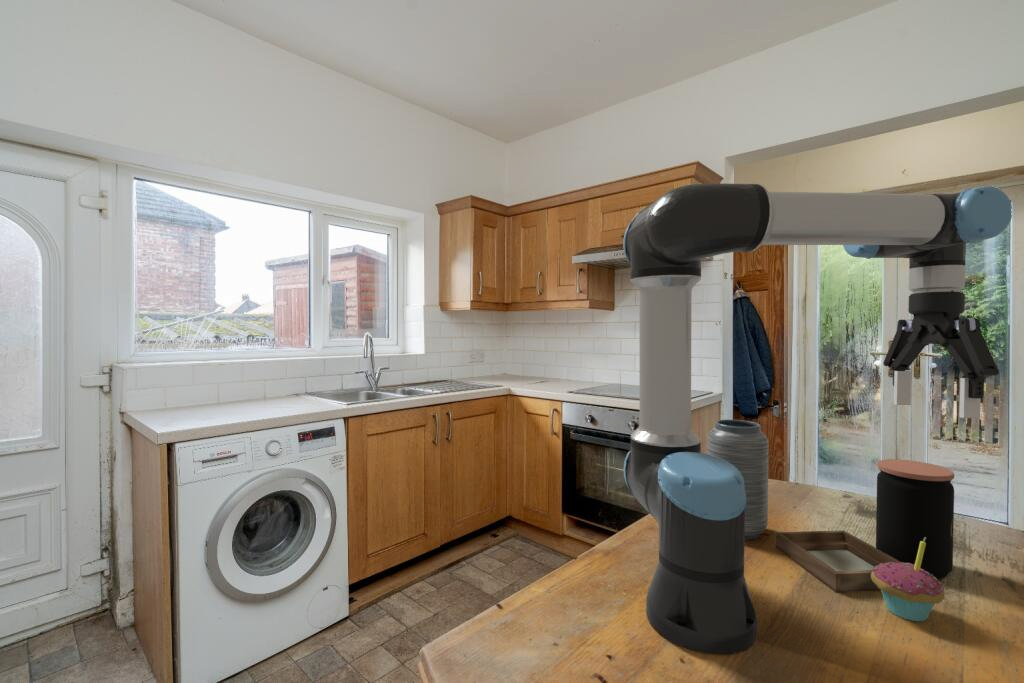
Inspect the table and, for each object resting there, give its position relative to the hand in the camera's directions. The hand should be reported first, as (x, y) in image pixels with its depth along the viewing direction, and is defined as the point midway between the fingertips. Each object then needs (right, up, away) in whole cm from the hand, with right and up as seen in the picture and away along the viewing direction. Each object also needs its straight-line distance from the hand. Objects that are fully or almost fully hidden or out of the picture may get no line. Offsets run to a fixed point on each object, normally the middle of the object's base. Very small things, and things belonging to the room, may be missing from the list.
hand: (933, 410), depth 86 cm
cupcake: (-16, -29, -13) cm, 36 cm away
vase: (-28, -28, +16) cm, 43 cm away
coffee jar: (-3, -28, +1) cm, 28 cm away
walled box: (-16, -28, +1) cm, 33 cm away
